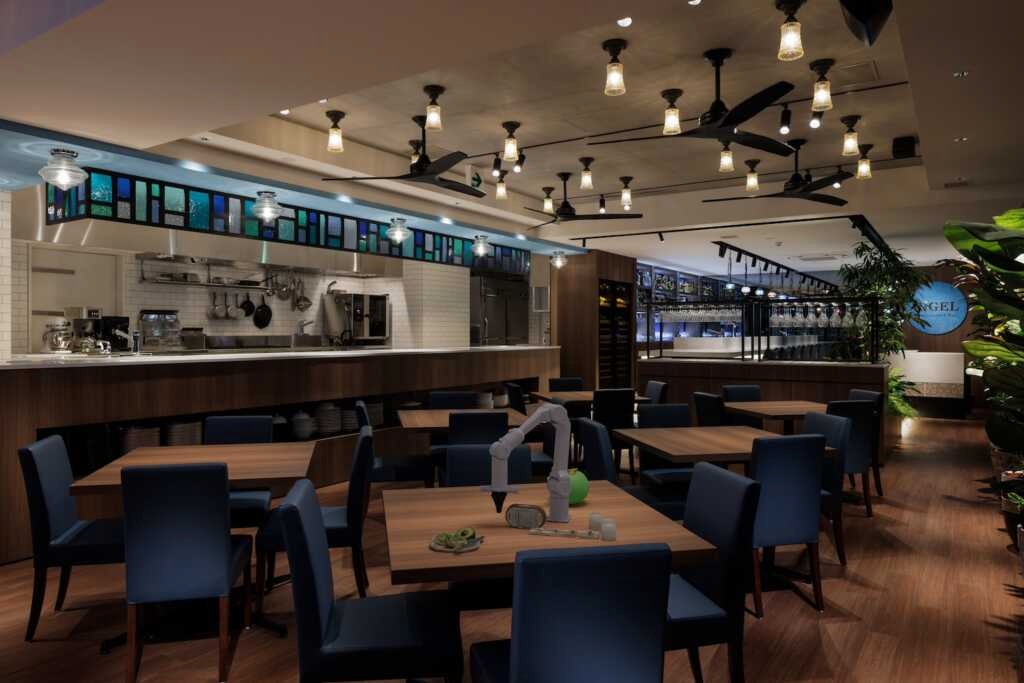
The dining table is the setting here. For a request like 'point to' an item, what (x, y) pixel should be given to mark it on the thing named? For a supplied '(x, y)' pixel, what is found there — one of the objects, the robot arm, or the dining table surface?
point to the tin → (525, 516)
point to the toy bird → (577, 486)
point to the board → (565, 533)
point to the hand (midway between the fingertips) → (499, 512)
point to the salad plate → (457, 541)
